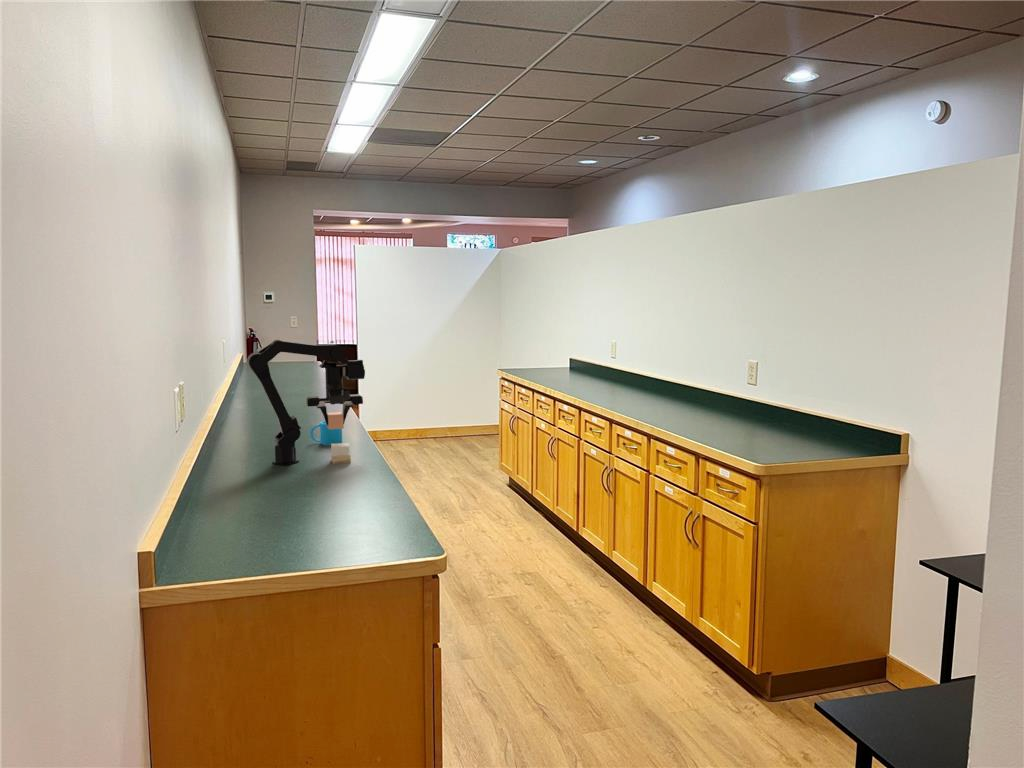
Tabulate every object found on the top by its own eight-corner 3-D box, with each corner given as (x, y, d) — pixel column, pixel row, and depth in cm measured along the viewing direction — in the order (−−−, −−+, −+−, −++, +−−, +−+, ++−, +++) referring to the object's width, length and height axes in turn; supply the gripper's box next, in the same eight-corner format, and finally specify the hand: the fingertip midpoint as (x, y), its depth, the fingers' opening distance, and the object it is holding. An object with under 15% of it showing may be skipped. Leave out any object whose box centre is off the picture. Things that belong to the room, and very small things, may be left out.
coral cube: (343, 428, 259) (343, 414, 258) (328, 429, 257) (328, 415, 257) (341, 425, 264) (341, 412, 263) (327, 426, 262) (326, 412, 261)
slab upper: (349, 455, 255) (349, 446, 254) (331, 455, 253) (331, 447, 253) (348, 451, 260) (348, 443, 260) (331, 452, 259) (331, 443, 259)
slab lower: (350, 463, 255) (350, 454, 255) (332, 464, 254) (332, 455, 253) (349, 459, 261) (349, 451, 261) (331, 460, 259) (331, 452, 259)
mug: (342, 440, 293) (341, 420, 292) (342, 444, 285) (341, 423, 284) (310, 441, 290) (309, 421, 289) (309, 446, 282) (309, 424, 281)
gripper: (308, 384, 247) (309, 430, 249) (364, 382, 254) (365, 427, 256) (305, 380, 258) (306, 424, 260) (359, 378, 264) (360, 421, 266)
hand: (335, 424), depth 260 cm, fingers closed on coral cube, 5 cm apart
